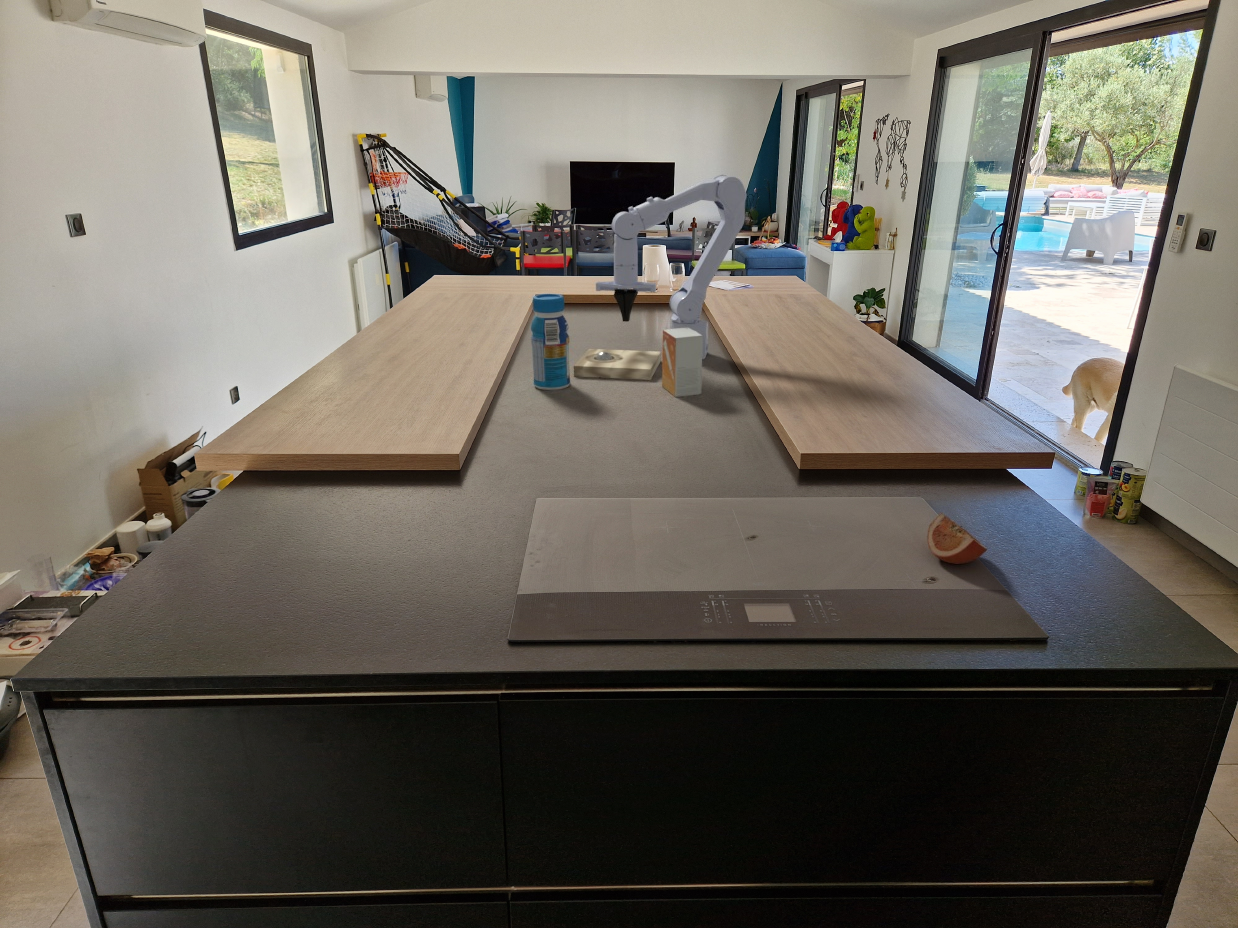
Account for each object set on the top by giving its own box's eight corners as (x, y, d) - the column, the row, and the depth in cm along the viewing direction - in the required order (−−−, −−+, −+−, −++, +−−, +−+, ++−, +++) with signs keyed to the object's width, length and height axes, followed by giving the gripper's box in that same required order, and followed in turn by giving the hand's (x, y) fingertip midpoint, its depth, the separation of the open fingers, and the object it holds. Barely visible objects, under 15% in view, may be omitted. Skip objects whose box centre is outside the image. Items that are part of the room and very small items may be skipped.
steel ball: (594, 349, 194) (592, 364, 196) (599, 357, 191) (597, 372, 193) (609, 348, 195) (608, 362, 198) (615, 356, 192) (613, 370, 195)
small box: (661, 387, 180) (661, 329, 175) (688, 384, 182) (689, 327, 177) (674, 397, 173) (675, 337, 168) (702, 394, 175) (703, 335, 170)
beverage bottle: (525, 388, 181) (520, 298, 173) (546, 378, 187) (542, 291, 180) (558, 393, 177) (554, 301, 169) (577, 383, 184) (575, 294, 176)
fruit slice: (915, 545, 111) (920, 512, 109) (961, 542, 112) (967, 509, 110) (945, 576, 104) (950, 541, 102) (994, 572, 104) (1001, 537, 102)
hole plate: (660, 361, 200) (660, 351, 199) (650, 379, 186) (650, 369, 185) (589, 358, 203) (589, 348, 202) (573, 376, 189) (573, 365, 188)
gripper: (592, 266, 192) (593, 323, 198) (653, 267, 190) (652, 325, 195) (599, 262, 199) (600, 317, 204) (657, 263, 196) (657, 319, 201)
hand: (626, 320), depth 200 cm, fingers closed
